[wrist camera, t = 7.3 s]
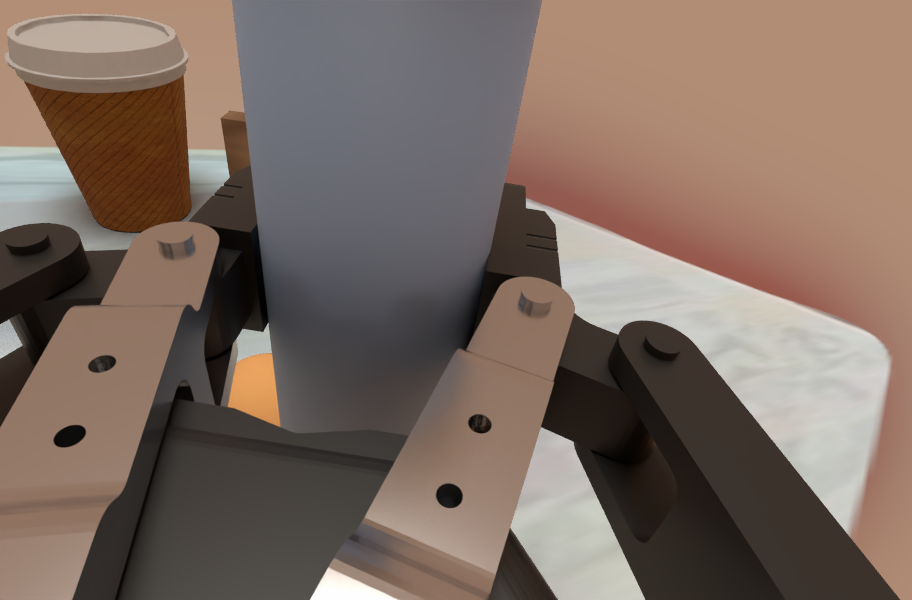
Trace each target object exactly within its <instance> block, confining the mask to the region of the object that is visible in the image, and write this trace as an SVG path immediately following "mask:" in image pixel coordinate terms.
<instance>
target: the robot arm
mask: <svg viewBox="0 0 912 600" xmlns="http://www.w3.org/2000/svg"><path fill="white" fill-rule="evenodd" d="M556 239H557V238H556V228H555V224H554V223H553V221H552V220H551V219H550V218H549V216H548V215H547V214H546V212H545V211H539V210H533V209H527V208H526V193H525V186H521V185H515V184H509V183H504V187H503V192H502V197H501V202H500V207H499V211H498V216H497V221H496V226H495V231H494V236H493V240H492V245H491V250H490V253H489V255H488V257H487V262H486V266H485V271H484V276H483V281H482V286H481V291H480V296H479V301H478V306H477V311H476V315H475V320H474V325H473V330H472V335H471V340H470V343H469V345H468V347H467V349H466V350H465V349H462V348H458V349H457V350H456V352H455V353H454V355H453V357H452V358H451V360H450V362H449V364H448V366H447V368H446V369H445V371H444V373H443V375H442V377H441V379H440V380H439V382H438V384H437V386H436V388H435V389H434V391H433V393H432V395H431V397H430V399H429V400H428V402H427V404H426V406H425V408H424V410H423V411H422V413H421V415H420V417H419V419H418V420H417V422H416V424H415V426H414V428H413V430H412V431H411V433H410V435H409V436H408V435H401V434H395V433H389V432H382V431H376V430H353V431H335V432H318V433H295V432H291V431H288V430H286V429H284V428H281V427H279V426H276V425H274V424H271V423H269V422H267V421H264V420H262V419H259V418H257V417H255V416H252V415H250V414H247V413H245V412H242V411H240V410H238V409H235V408H231V407H228V403H229V398H230V393H231V387H232V382H233V377H234V372H235V366H236V361H237V356H238V347H237V341H236V339H237V337H238V335H239V334H240V332H241V330H242V329H248V330H254V331H261V332H263V331H264V329H265V327H266V326H267V324H268V313H267V304H266V295H265V286H264V278H263V269H262V260H261V251H260V242H259V233H258V225H257V216H256V207H255V198H254V189H253V181H252V172H251V165H250V166H248V167H245V168H243V169H241V170H239V171H237V172H235V173H234V174H233V175H232V176H231V177H230V178H229V179H228V180H227V181H226V182H225V183H224V186H221V187H220V189H219V190H218V191H217V192H216V193H215V196H212V197H211V198H210V199H209V200H208V201H207V202H206V203H205V204H204V205H203V206H202V207H201V209H200V210H199V211H198V212H197V213H196V214H195V215H194V216H193V217H192V218H191V219H190V220H189V221H188V222H185V221H184V222H169V223H164V224H160V225H156V226H154V227H151V228H149V229H147V230H145V231H143V232H141V233H140V234H139V235H138V236H136V237H135V239H134V240H133V241H132V243H131V245H130V247H129V249H128V250H103V251H84V248H83V245H82V242H81V239H80V237H79V235H78V233H77V232H76V231H75V230H73V229H72V228H70V227H67V226H64V225H59V224H52V223H38V224H28V225H22V226H18V227H14V228H10V229H7V230H4V231H2V232H0V324H1V323H3V322H5V321H7V320H8V319H9V320H10V322H11V323H12V325H13V327H14V329H15V331H16V333H17V335H18V337H19V339H20V341H21V343H22V345H23V346H21V347H20V348H18V349H16V350H15V351H13V352H11V353H9V354H8V355H6V356H4V357H3V358H1V359H0V600H558V599H557V598H556V596H555V595H554V593H553V592H552V590H551V589H550V587H549V586H548V584H547V583H546V581H545V580H544V578H543V577H542V575H541V574H540V572H539V571H538V569H537V567H536V566H535V564H534V563H533V561H532V560H531V558H530V557H529V555H528V554H527V552H526V551H525V549H524V548H523V546H522V545H521V543H520V542H519V540H518V539H517V537H516V536H515V534H514V533H513V531H512V530H511V528H510V526H511V523H512V519H513V516H514V513H515V510H516V506H517V503H518V500H519V496H520V493H521V490H522V487H523V483H524V480H525V477H526V474H527V470H528V467H529V464H530V460H531V457H532V454H533V451H534V447H535V444H536V441H537V438H538V434H539V431H540V428H541V427H542V428H544V429H547V430H549V431H551V432H553V433H556V434H558V435H560V436H562V437H564V438H567V439H569V440H571V441H573V442H574V446H575V450H576V453H577V455H578V457H579V459H580V461H581V464H582V466H583V468H584V470H585V472H586V474H587V476H588V478H589V481H590V483H591V485H592V487H593V489H594V491H595V493H596V495H597V498H598V500H599V502H600V504H601V506H602V508H603V510H604V512H605V515H606V517H607V519H608V521H609V523H610V525H611V527H612V529H613V532H614V534H615V536H616V538H617V540H618V542H619V544H620V546H621V549H622V551H623V553H624V555H625V557H626V559H627V561H628V563H629V566H630V568H631V570H632V572H633V574H634V576H635V578H636V581H637V583H638V585H639V587H640V589H641V591H642V593H643V595H644V598H645V600H900V599H899V598H898V597H897V595H896V594H895V593H894V592H893V590H892V589H891V588H890V587H889V585H888V584H887V583H886V582H885V581H884V579H883V578H882V577H881V575H880V574H879V573H878V572H877V570H876V569H875V568H874V567H873V565H872V564H871V563H870V562H869V561H868V559H867V558H866V557H865V556H864V554H863V553H862V552H861V550H860V549H859V548H858V547H857V546H856V544H855V543H854V542H853V541H852V539H851V538H850V537H849V536H848V534H847V533H846V532H845V531H844V529H843V528H842V527H841V526H840V524H839V523H838V522H837V521H836V519H835V518H834V517H833V516H832V514H831V513H830V512H829V511H828V509H827V508H826V507H825V506H824V504H823V503H822V502H821V501H820V499H819V498H818V497H817V496H816V494H815V493H814V492H813V491H812V489H811V488H810V487H809V486H808V484H807V483H806V482H805V481H804V480H803V478H802V477H801V476H800V475H799V473H798V472H797V471H796V470H795V468H794V467H793V466H792V465H791V463H790V462H789V461H788V460H787V458H786V457H785V456H784V455H783V453H782V452H781V451H780V450H779V448H778V447H777V446H776V445H775V443H774V442H773V441H772V440H771V438H770V437H769V436H768V435H767V433H766V432H765V431H764V430H763V428H762V427H761V426H760V425H759V423H758V422H757V421H756V420H755V419H754V417H753V416H752V415H751V414H750V412H749V411H748V410H747V409H746V407H745V406H744V405H743V404H742V402H741V401H740V400H739V399H738V397H737V396H736V395H735V394H734V392H733V391H732V390H731V389H730V387H729V386H728V385H727V384H726V382H725V381H724V380H723V379H722V377H721V376H720V375H719V374H718V372H717V371H716V370H715V369H714V367H713V366H712V365H711V364H710V362H709V361H708V360H707V359H706V357H705V356H704V355H703V354H702V353H701V351H700V350H699V349H698V348H697V346H696V345H695V344H694V343H693V342H692V341H691V340H690V339H689V338H688V337H687V336H685V335H684V334H682V333H681V332H679V331H678V330H676V329H674V328H672V327H669V326H667V325H664V324H661V323H658V322H653V321H634V322H631V323H628V324H627V325H625V326H624V327H623V328H622V329H621V331H620V332H619V335H617V334H615V333H612V332H610V331H607V330H604V329H602V328H599V327H597V326H594V325H592V324H590V323H588V322H586V321H585V320H583V319H582V318H580V317H579V316H577V315H576V314H575V313H574V311H575V306H574V303H573V300H572V299H571V297H570V296H569V295H568V293H567V292H566V291H564V290H563V289H562V286H561V276H560V267H559V257H558V252H557V251H558V247H557V241H556Z"/></svg>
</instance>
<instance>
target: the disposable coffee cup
mask: <svg viewBox="0 0 912 600" xmlns="http://www.w3.org/2000/svg"><path fill="white" fill-rule="evenodd" d="M7 36H8V47H9V50H8V51H7V53H6V54H5V58H6V62H7V63H8V65H9V66H10V67H12V68H13V69H15V71H16V73H17V75H18V76H19V77H20V78H21V79H22V80H24V82H25V84H26V86H27V88H28V89H29V91H30V93H31V95H32V97H33V99H34V101H35V102H36V105H37V106H38V109H39V111H40V112H41V115H42V117H43V119H44V121H45V122H46V125H47V127H48V129H49V130H50V132H51V135H52V137H53V138H54V140H55V141H56V144H57V146H58V148H59V150H60V152H61V154H62V156H63V158H64V159H65V161H66V163H67V165H68V167H69V169H70V171H71V173H72V175H73V177H74V179H75V181H76V183H77V184H78V187H79V189H80V191H81V192H82V195H83V197H84V199H85V200H86V202H87V205H88V206H89V208H90V210H91V212H92V214H93V216H94V218H95V220H96V221H97V222H98V223H99V224H101V225H102V226H104V227H107V228H110V229H113V230H117V231H126V232H139V231H145V230H147V229H149V228H151V227H154V226H156V225H160V224H164V223H169V222H178V221H180V220H181V219H183V218H184V217H185V216H186V215H187V214H188V213H189V212H190V209H191V198H190V180H189V163H188V146H187V128H186V110H185V93H184V78H183V77H184V76H183V75H184V73H185V71H186V64H187V62H188V53H187V52H186V50H185V49H183V48H182V47H181V44H180V42H179V40H178V37H177V35H176V32H175V31H174V30H173V29H172V28H171V27H169V26H167V25H165V24H162V23H159V22H155V21H151V20H147V19H143V18H137V17H130V16H121V15H103V14H73V15H56V16H47V17H41V18H35V19H30V20H26V21H23V22H20V23H17V24H15V25H13V26H12V27H11V28H9V29H8V30H7Z"/></svg>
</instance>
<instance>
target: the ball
mask: <svg viewBox="0 0 912 600" xmlns="http://www.w3.org/2000/svg"><path fill="white" fill-rule="evenodd" d="M228 407H231V408H235V409H238V410H240V411H242V412H245V413H247V414H250V415H252V416H255V417H257V418H259V419H262V420H264V421H267V422H269V423H271V424H274V425H276V426H279V427H280V418H279V410H278V401H277V392H276V383H275V374H274V366H273V357H272V353H267V354H258V355H254V356H250V357H247V358H245V359H243V360H241V361H239V362H237V363H236V366H235V372H234V377H233V382H232V387H231V393H230V398H229V403H228Z"/></svg>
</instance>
